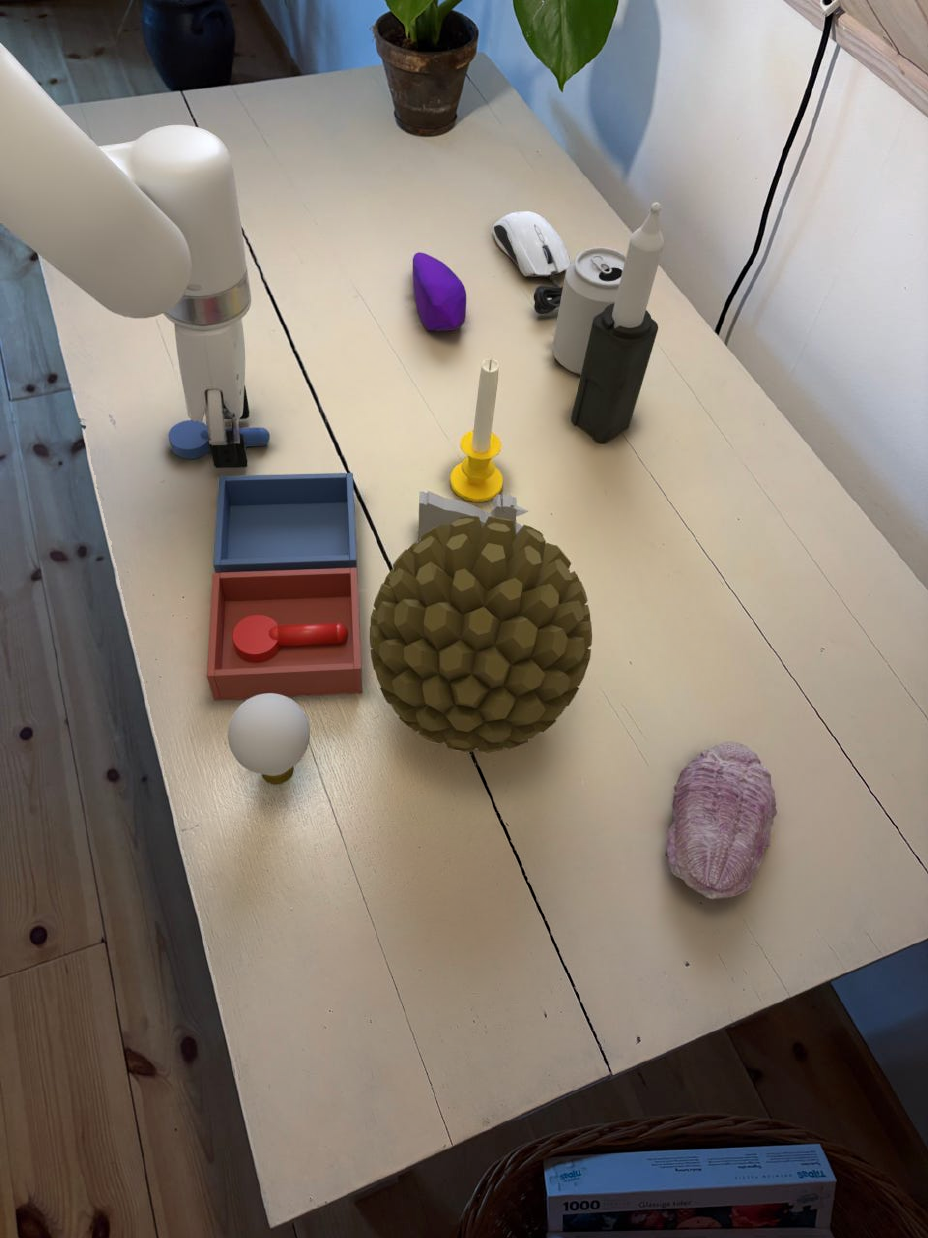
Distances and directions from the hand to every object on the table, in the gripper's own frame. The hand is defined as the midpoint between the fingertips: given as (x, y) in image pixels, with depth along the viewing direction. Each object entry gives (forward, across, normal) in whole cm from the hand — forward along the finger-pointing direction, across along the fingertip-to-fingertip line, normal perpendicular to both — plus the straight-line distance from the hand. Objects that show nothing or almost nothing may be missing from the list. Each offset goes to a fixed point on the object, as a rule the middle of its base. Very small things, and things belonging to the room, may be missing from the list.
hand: (232, 439), depth 93 cm
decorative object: (+1, +30, +21) cm, 37 cm away
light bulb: (+1, +36, +5) cm, 36 cm away
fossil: (+1, +43, +39) cm, 58 cm away
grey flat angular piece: (+1, +13, +22) cm, 26 cm away
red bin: (+1, +24, +6) cm, 25 cm away
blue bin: (+1, +13, +6) cm, 14 cm away
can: (+1, -12, +38) cm, 40 cm away
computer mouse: (+1, -28, +35) cm, 45 cm away
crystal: (+1, -21, +22) cm, 30 cm away
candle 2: (+1, -2, +38) cm, 38 cm away
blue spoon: (+1, 0, -1) cm, 1 cm away
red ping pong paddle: (0, +24, +6) cm, 25 cm away
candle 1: (+1, +6, +24) cm, 25 cm away
